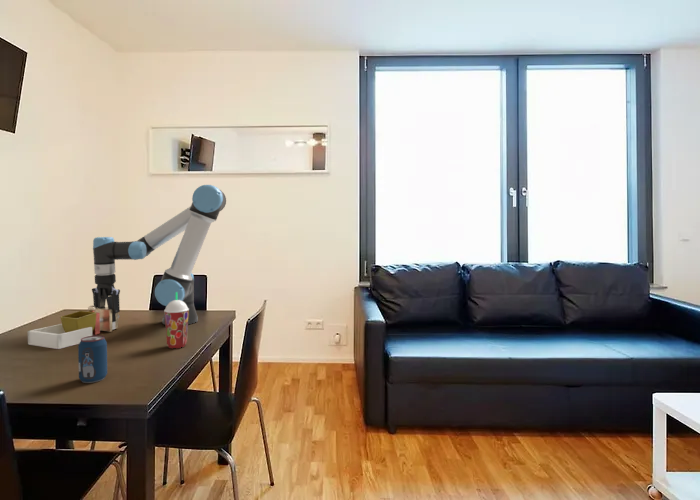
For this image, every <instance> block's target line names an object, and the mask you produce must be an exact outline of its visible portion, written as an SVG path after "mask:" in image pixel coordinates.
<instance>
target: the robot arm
mask: <svg viewBox="0 0 700 500" xmlns="http://www.w3.org/2000/svg"><path fill="white" fill-rule="evenodd" d="M191 199H192V203H191V204H190V206H188V207H187V208H186V209H184V210H182V211H181V212H179V213H178V214H175V216H173V217H171V218H170V219H169V220H167V221H165V222H164V223H162V224H160V225H159V226H158V227H156V228H155V229H154V228H153V230H151V231H150V232H148V233H147V234H145V235H144V236H142V237H140V238H139V239H138V240H134V241H115V239H114V237H112V236H101V237H100V236H98V237H94V238H93V241H92V252H93V268H94V269H93V271H94V274H95V275H94V284H96V287H94V288H92V289H91V292H92V298H93V306H95V308H105V307H106V304H107V307H108V309H112V331H113V330H115V329H117V328H116V327H115V321H116V313H118V314H119V313H120V311H121V310H120V308H121V307H120V293H121V290H120V289H116V286H115V283H117V282H116V281H117V280H116V274H115V273H116V262H115V261H116V260H117V261H119V260H122V261H123V260H131V261H132V260H134V261H137V260H144V259H145V258H147V256H150V254H151V253H152V252H154V251H155V250H157V249H158V248H160V247H161V246H163V245H164V244H166V243H168V242H169V241H171V240H172V239H173V238H175V237H176V236H178V235H180V234H181V233H183V232H184V233H183V235H182V238H181V241H180V242H179V245H178V248H177V250H176V253H175V255H174V257H173V260H172V262H171V265H170V267H169V268H167V269H165V270H164V272H163V275H162V277H161V279H160V281H159V282H158V283H157V284H156V286H155V288H154V296H155V298H156V300H157V302H158V303H160V305H162V306H165V307H166V306H167V305H168V304H169V303H170V302H171V301H173V300H176V292H178V300H181V301H183V302H184V303H186V305H187V307H188V308H189V314H188V325H193V324H195V322H196V323H198V321H199V319H198V318H199V316H198V314H197V310H196V307H195V303H194V302H195V299H194V298H195V297H194V296H195V294H194V293H195V290H194V289H195V288H194V286H195V285H194V284H195V277H194V274H193V270H194V267H195V265H196V261H197V259H198V257H199V254H200V251H201V249H202V246H203V245H204V241H205V239H206V238H207V234H208V231H209V230H210V226H211V224H212V223H214V222H216V221H217V220H218V217H219V214H220V212H222V210H224V209H225V207H226V204H227V197H226V195H225V193H224V192H223V191H222V189H220V188H219V187H217V186H215V185H212V184H203V185H199V186H198V187H197V188H196V189H195V190H194V192H193V193H192V198H191ZM192 323H193V324H192ZM162 325H165V312H164V315H163V317H162Z"/></svg>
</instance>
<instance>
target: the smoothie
mask: <svg viewBox="0 0 700 500" xmlns="http://www.w3.org/2000/svg"><path fill="white" fill-rule="evenodd" d="M163 311H164V313H165V338H166V345H167V346H168V348H169V349H173V348H176V349H181V347H182V348H184V347H185V346H186V344H187V343H188V331H189V329H188V327H189V326H188V325H189V324H188V314H189V308H188V307H187V305H186V303H184V302H183V301H181V300H178V292H176V300H173V301H171V302H170V303H169V304H168V305H167V306H165V309H164V310H163Z"/></svg>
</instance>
